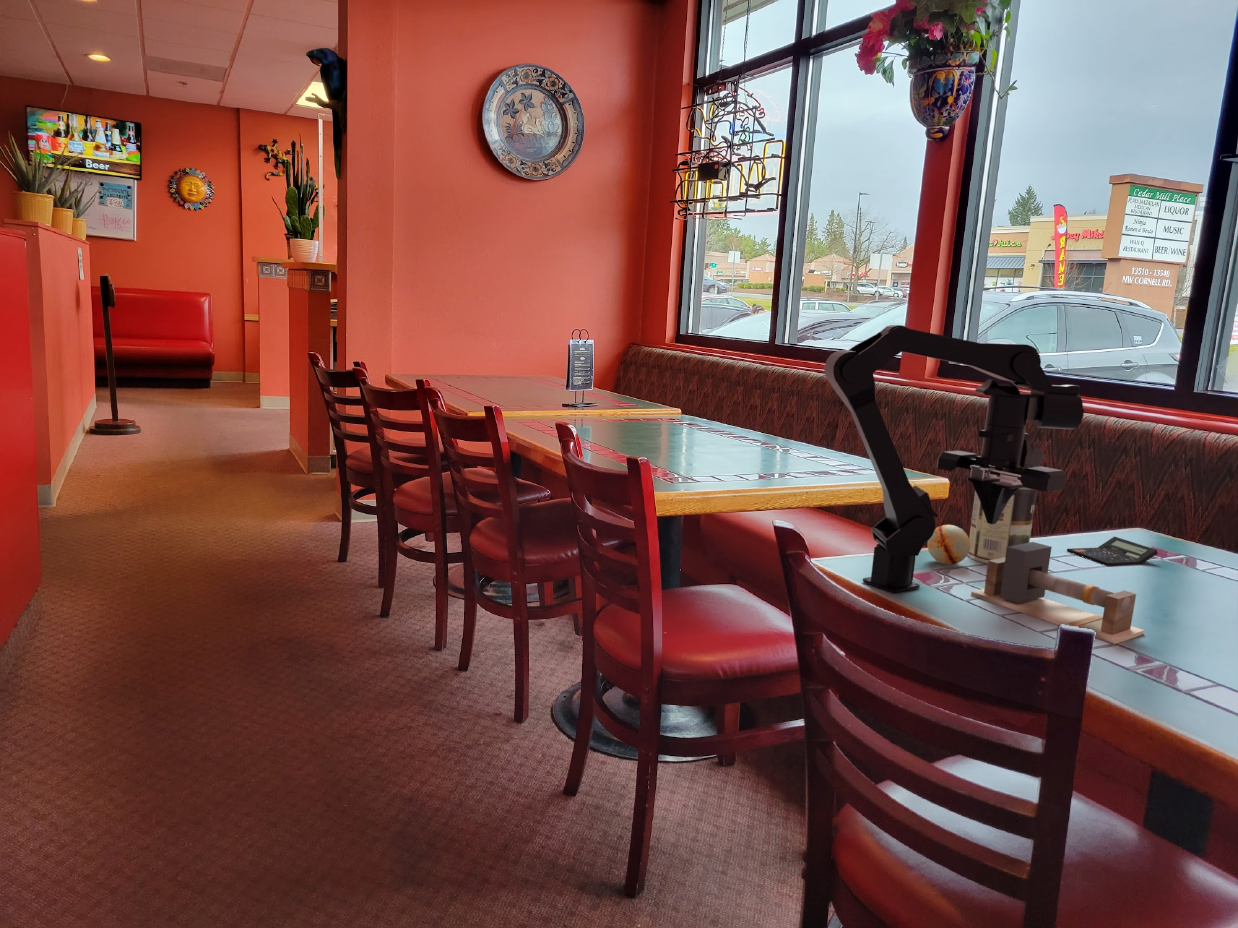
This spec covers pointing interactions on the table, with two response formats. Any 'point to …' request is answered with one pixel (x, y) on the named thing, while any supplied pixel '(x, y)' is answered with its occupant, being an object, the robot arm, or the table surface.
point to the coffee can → (1002, 527)
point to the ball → (949, 544)
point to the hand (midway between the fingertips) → (991, 523)
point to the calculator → (1117, 553)
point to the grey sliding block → (1024, 571)
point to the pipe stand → (1107, 627)
